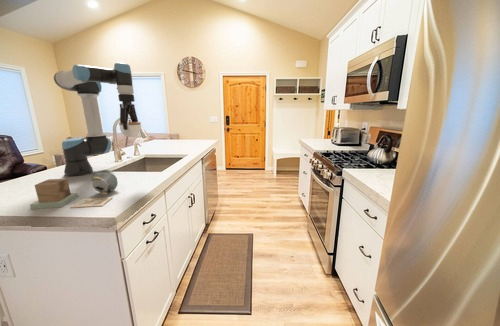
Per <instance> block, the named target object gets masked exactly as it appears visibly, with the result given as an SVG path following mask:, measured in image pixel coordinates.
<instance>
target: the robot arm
mask: <svg viewBox="0 0 500 326" xmlns="http://www.w3.org/2000/svg"><path fill="white" fill-rule="evenodd" d="M113 66H114V67H113V68H107V67H99V66H91V65H84V64H74V65H72V68H71V69H70V70H67V71H66V70H59V71H57V72H55V74H54V75H53V81H54V83H55V84H56V86H58V87H59V88H61V89H63V90H65V91H69V92H76V93H77V96H79V97H80V99H81V104H82V109H83V113H84V119H85V120H84V121H85V124H86V129H87V134H86V135H85V138H84V137H81V136H79V137H71V138H67V139H64V140H63V141H62V142H61V148H62V151H63V152H62V153H63V156H64V162H65V166H64V171H63V172H64V176H66V177H79V176H84V175H87V174H92V173H93V172H94V170H93V167H92V165H91V164H90V163H91V162H89V160H88V157H90V156H91V157H92V156H98V155H103V154H108V153H110V152H111V149H112V142H111V141H112V140H111V139H110V137H108V136H107V134H106V133H104V131H103V124H102V120H101V113H100V108H99V107H100V106H99V103H98V102H99V101H98V97H99V95H100V93H101V92H102V83H105V84H109V85H116V90H117V93H118V101H119V102H122V103H119V123H121V124H123V130H124V134H123V135H124V137H126V136H130V131H129V124H127V123H128V122H129V119H130V120H131V122H139V119H138V116H137V115H138V114H137V111H136V108H135V104H134V102H135V96H134V94H135V93H134V92H135V91H134V85H133V77H132V75H133V74H132V71H131V66H130V64H128V63H125V62H115V63H114V65H113Z"/></svg>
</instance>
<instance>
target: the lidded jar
mask: <svg viewBox="0 0 500 326" xmlns="http://www.w3.org/2000/svg"><path fill="white" fill-rule="evenodd" d="M127 124H129V131H130V136H125V137H128V138H131V137H132V138H133V137H138V135H140V133H141V129H142V128H141V126H142V125H141V124H142V123H141V122H140V121H138V122H132V121H131V119H128V123H127ZM118 125H119V130H120V132H121V134H122V135H124V130H123V124H121V123H120V122H119V123H118Z"/></svg>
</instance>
